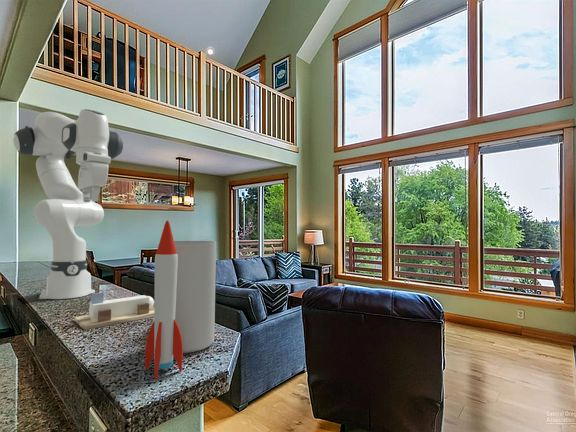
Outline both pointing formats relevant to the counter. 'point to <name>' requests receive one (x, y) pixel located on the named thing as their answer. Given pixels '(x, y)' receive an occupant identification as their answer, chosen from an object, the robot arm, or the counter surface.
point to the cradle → (106, 319)
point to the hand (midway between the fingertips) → (90, 201)
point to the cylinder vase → (196, 293)
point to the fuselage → (117, 305)
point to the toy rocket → (165, 308)
